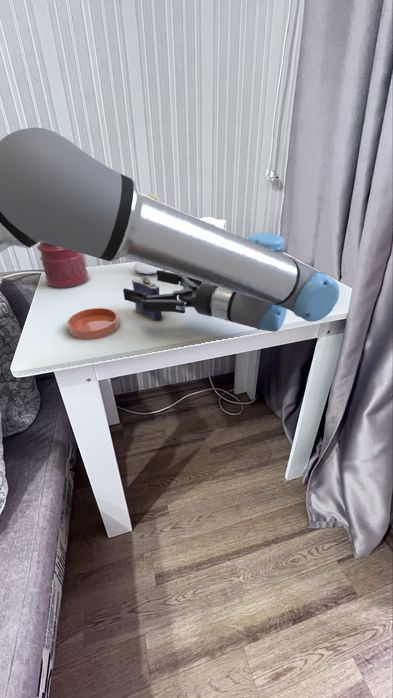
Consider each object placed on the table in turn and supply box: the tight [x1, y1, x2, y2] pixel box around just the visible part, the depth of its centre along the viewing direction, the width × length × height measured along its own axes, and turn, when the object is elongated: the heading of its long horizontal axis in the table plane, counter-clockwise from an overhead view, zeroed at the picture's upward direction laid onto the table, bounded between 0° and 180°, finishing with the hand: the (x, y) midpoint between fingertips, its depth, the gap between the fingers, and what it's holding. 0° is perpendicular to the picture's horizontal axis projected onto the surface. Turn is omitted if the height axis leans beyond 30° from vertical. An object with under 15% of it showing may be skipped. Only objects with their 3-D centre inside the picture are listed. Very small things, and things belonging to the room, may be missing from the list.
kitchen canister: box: [36, 241, 89, 289], centre depth 101 cm, size 13×13×18 cm
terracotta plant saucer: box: [67, 307, 120, 340], centre depth 80 cm, size 12×12×2 cm
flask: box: [131, 274, 163, 322], centre depth 83 cm, size 9×3×11 cm, turn 48°
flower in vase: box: [133, 193, 165, 275], centre depth 105 cm, size 13×11×25 cm
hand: (142, 284), depth 82 cm, fingers open, 13 cm apart
